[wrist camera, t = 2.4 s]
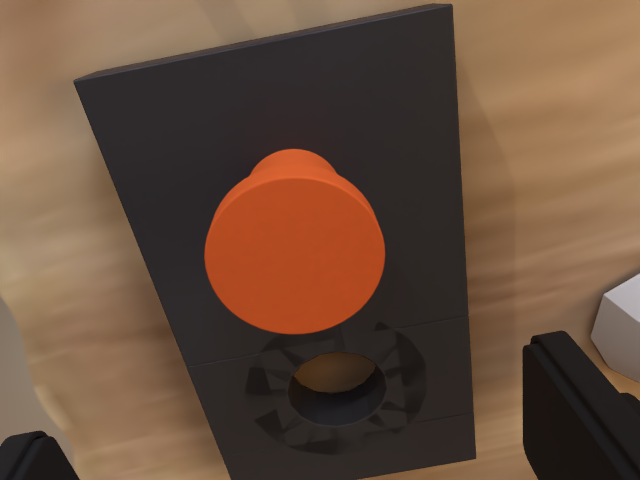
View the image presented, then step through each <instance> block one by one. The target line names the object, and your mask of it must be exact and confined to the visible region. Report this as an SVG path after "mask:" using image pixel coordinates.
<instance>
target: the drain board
mask: <svg viewBox="0 0 640 480" xmlns="http://www.w3.org/2000/svg"><path fill="white" fill-rule="evenodd" d="M73 82H74V85H75V87H76V90H77V92H78V95H79V97H80V100H81V102H82V105H83V108H84V110H85V113H86V115H87V118H88V120H89V123H90V125H91V128H92V130H93V133H94V135H95V138H96V140H97V143H98V145H99V148H100V150H101V153H102V155H103V158H104V160H105V163H106V165H107V168H108V170H109V173H110V175H111V178H112V180H113V183H114V185H115V188H116V191H117V193H118V196H119V198H120V201H121V203H122V206H123V208H124V211H125V213H126V216H127V218H128V221H129V223H130V226H131V228H132V231H133V233H134V236H135V238H136V241H137V243H138V246H139V248H140V251H141V253H142V256H143V258H144V261H145V263H146V266H147V268H148V271H149V273H150V276H151V279H152V281H153V284H154V286H155V289H156V291H157V294H158V296H159V299H160V301H161V304H162V306H163V309H164V311H165V314H166V316H167V319H168V321H169V324H170V326H171V329H172V331H173V334H174V336H175V339H176V341H177V344H178V346H179V349H180V351H181V354H182V356H183V359H184V362H185V364H186V366H187V370H188V372H189V375H190V377H191V380H192V382H193V385H194V387H195V390H196V392H197V395H198V397H199V400H200V402H201V405H202V407H203V410H204V412H205V415H206V417H207V420H208V422H209V425H210V427H211V430H212V432H213V435H214V437H215V440H216V442H217V445H218V447H219V450H220V453H221V455H222V457H223V460H224V462H225V465H226V468H227V470H228V473H229V475H230V478H231V480H357V479H363V478H369V477H374V476H380V475H386V474H392V473H397V472H403V471H409V470H415V469H420V468H426V467H432V466H438V465H444V464H449V463H455V462H461V461H467V460H472V459H476V446H475V426H474V412H473V391H472V372H471V353H470V333H469V316H468V314H469V313H468V293H467V274H466V255H465V235H464V216H463V197H462V178H461V158H460V139H459V120H458V100H457V81H456V62H455V43H454V23H453V6H452V4H435V3H433V4H428V5H423V6H418V7H413V8H408V9H403V10H398V11H393V12H388V13H383V14H378V15H373V16H368V17H363V18H358V19H353V20H349V21H344V22H339V23H334V24H329V25H324V26H319V27H314V28H309V29H304V30H299V31H294V32H289V33H284V34H279V35H274V36H269V37H264V38H259V39H255V40H250V41H245V42H240V43H235V44H230V45H225V46H220V47H215V48H210V49H205V50H200V51H195V52H190V53H185V54H180V55H175V56H170V57H165V58H161V59H156V60H151V61H146V62H141V63H136V64H131V65H126V66H121V67H116V68H111V69H106V70H101V71H97V72H94V73H91V74H89V75H86V76H83V77H81V78H78V79H76V80H74V81H73ZM287 149H300V150H306V151H310V152H312V153H315V154H317V155H319V156H320V157H322V158H323V159H325V160H326V161H327V162H328V163H329V164H330V165H331V166H332V167H333V168H334V170H335V171H336V173H337V175H339V176H341V177H343V178H345V179H346V180H347V181H349V182H350V183H351V184H353V185H354V186H355V187H356V188H357V189H358V190H359V191H360V192H361V193H362V194H363V195H364V197H365V198H366V199H367V201H368V202H369V204H370V206H371V208H372V209H373V211H374V214H375V216H376V219H377V221H378V224H379V227H380V229H381V232H382V235H383V240H384V244H385V262H384V268H383V272H382V276H381V279H380V281H379V284H378V286H377V288H376V289H375V291H374V293H373V295H372V296H371V297H370V299H369V300H368V301H367V303H366V304H365V305H364V306H363V307H362V308H361V309H360V310H359V311H357V312H356V313H355V314H354V315H352V316H351V317H350V318H348V319H346V320H345V321H343V322H342V323H339V324H337V325H335V326H333V327H331V328H328V329H325V330H322V331H318V332H313V333H307V334H280V333H275V332H270V331H267V330H263V329H260V328H258V327H255V326H253V325H251V324H249V323H247V322H245V321H243V320H242V319H240V318H239V317H237V316H236V315H235V314H233V313H232V312H231V311H230V310H229V309H228V308H227V307H226V306H225V305H224V304H223V303H222V301H221V300H220V299H219V298H218V296H217V295H216V293H215V291H214V290H213V288H212V286H211V283H210V281H209V279H208V275H207V272H206V268H205V258H204V255H205V243H206V239H207V235H208V232H209V229H210V226H211V223H212V220H213V218H214V215H215V212H216V210H217V208H218V207H219V205H220V203H221V201H222V200H223V199H224V197H225V196H226V195H227V194H228V193H229V192H230V191H231V190H232V189H233V188H234V187H235V186H236V185H237V184H238V183H240V182H241V181H242V180H244V179H245V178H247V177H249V176H250V174H251V172H252V171H253V169H254V168H255V167H256V165H257V164H258V163H259V162H260V161H262V160H263V159H264V158H265V157H267V156H269V155H271V154H273V153H275V152H278V151H282V150H287ZM337 351H339V352H346V353H354V354H360V355H362V356H364V357H365V358H367V359H369V360H371V361H373V362H374V363H375V364H376V367H375V370H374V372H373V373H372V375H371V376H370V377H369V378H368V379H367V380H366V381H365V382H364V383H363V384H361V385H359V386H357V387H355V388H353V389H351V390H349V391H345V392H339V393H334V394H329V393H320V392H315V391H313V390H311V389H309V388H307V387H305V386H303V385H301V384H300V383H299V382H298V381H297V380H296V379H295V378H294V376H293V375H294V373H295V372H296V371H297V370H298V369H299V367H300V366H301V365H302V364H303V363H305V362H307V361H309V360H311V359H313V358H314V357H316V356H318V355H320V354H326V353H331V352H337Z"/></svg>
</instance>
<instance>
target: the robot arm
mask: <svg viewBox="0 0 640 480" xmlns="http://www.w3.org/2000/svg"><path fill="white" fill-rule="evenodd" d="M523 446H524V450H525V454H526V456H527V459H528V461H529V463H530V465H531V467H532V469H533V471H534V472H535V474H536V476H537V478H538V480H640V401H639V400H638V399H637V398H636V397H635V396H633V395H631V394H629V393H619V392H618V391H617V390H616V389H615V387H614V386H613V385H612V384H611V383H610V382H609V380H608V379H607V378H606V377H605V376H604V375H603V374H602V372H601V371H600V370H599V369H598V368H597V367H596V366H595V364H594V363H593V362H592V361H591V360H590V359H589V357H588V356H587V355H586V354H585V353H584V352H583V351H582V349H581V348H580V347H579V346H578V345H577V344H576V343H575V341H574V340H573V339H572V338H571V337H570V336H569V335H568V334H567V333H566V332H565V331H557V332H551V333H546V334H541V335H536V336H533V337H532V338H531V342H530V345H525V346H524V347H523ZM0 480H80V479H79V478H78V476H77V474H76V473H75V471H74V469H73V468H72V466H71V464H70V463H69V461H68V460H67V458H66V456H65V454H64V453H63V451H62V449H61V448H60V446H59V444H58V443H57V441H56V440H55V439H54V438H53V437H51V436H50V437H48V435H47V434H46V433H45V432H43V431H34V432H29V433H24V434H19V435H13V436H10V437H8V438H7V439H5V441H4V442H3V443H2V444H1V446H0Z"/></svg>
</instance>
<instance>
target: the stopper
mask: <svg viewBox="0 0 640 480" xmlns="http://www.w3.org/2000/svg"><path fill="white" fill-rule="evenodd" d="M204 258H205V268H206V272H207V275H208V279H209V281H210V283H211V286H212V288H213V290H214V291H215V293H216V295H217V296H218V298H219V299H220V300H221V301H222V303H223V304H224V305H225V306H226V307H227V308H228V309H229V310H230V311H231V312H232V313H233V314H235V315H236V316H237V317H239V318H240V319H242V320H243V321H245V322H247V323H249V324H251V325H253V326H255V327H258V328H260V329H263V330H267V331H270V332H275V333H280V334H307V333H313V332H318V331H322V330H325V329H328V328H331V327H333V326H335V325H337V324H339V323H342V322H343V321H345V320H346V319H348V318H350V317H351V316H352V315H354V314H355V313H356V312H357V311H359V310H360V309H361V308H362V307H363V306H364V305H365V304H366V303H367V301H368V300H369V299H370V297H371V296H372V295H373V293H374V291H375V289H376V288H377V286H378V284H379V281H380V279H381V276H382V272H383V268H384V262H385V244H384V240H383V235H382V232H381V229H380V227H379V224H378V221H377V219H376V216H375V214H374V211H373V209H372V208H371V206H370V204H369V202H368V201H367V199H366V198H365V197H364V195H363V194H362V193H361V192H360V191H359V190H358V189H357V188H356V187H355V186H354V185H353V184H351V183H350V182H349V181H347V180H346V179H345V178H343V177H341V176H339V175H337V173H336V171H335V170H334V168H333V167H332V166H331V165H330V164H329V163H328V162H327V161H326V160H325V159H323V158H322V157H320V156H319V155H317V154H315V153H312V152H310V151H306V150H300V149H287V150H282V151H278V152H275V153H273V154H271V155H269V156H267V157H265V158H264V159H263V160H262V161H260V162H259V163H258V164H257V165H256V167H255V168H254V169H253V171H252V172H251V174H250V176H249V177H247V178H245V179H244V180H242V181H241V182H240V183H238V184H237V185H236V186H235V187H234V188H233V189H232V190H231V191H230V192H229V193H228V194H227V195H226V196H225V197H224V199H223V200H222V201H221V203H220V205H219V207H218V208H217V210H216V212H215V215H214V218H213V220H212V223H211V226H210V229H209V232H208V235H207V239H206V243H205V255H204Z"/></svg>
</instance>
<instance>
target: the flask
mask: <svg viewBox="0 0 640 480" xmlns="http://www.w3.org/2000/svg"><path fill="white" fill-rule="evenodd" d="M590 338H591V339H592V341H593V342H594V344H595V346H596V347H597V349H598V351H599V352H600V354H601V355H602V357H603V359H604V360H605V362H606V363H607V365H608V367H609V368H611V369H612V370H614V371H616V372H618V373H620V374H622V375H624V376H626V377H628V378H630V379H632V380H634V381H637V382H639V383H640V274H638V275H636V276H635V277H633V278H631V279H629V280H628V281H626V282H624V283H622V284H621V285H619V286H617V287H615V288H614V289H612V290H610V291H609V292H607V293H605V294H603V298H602V301H601V304H600V307H599V311H598V314H597V317H596V321H595V324H594V327H593V330H592V334H591V337H590Z"/></svg>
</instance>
